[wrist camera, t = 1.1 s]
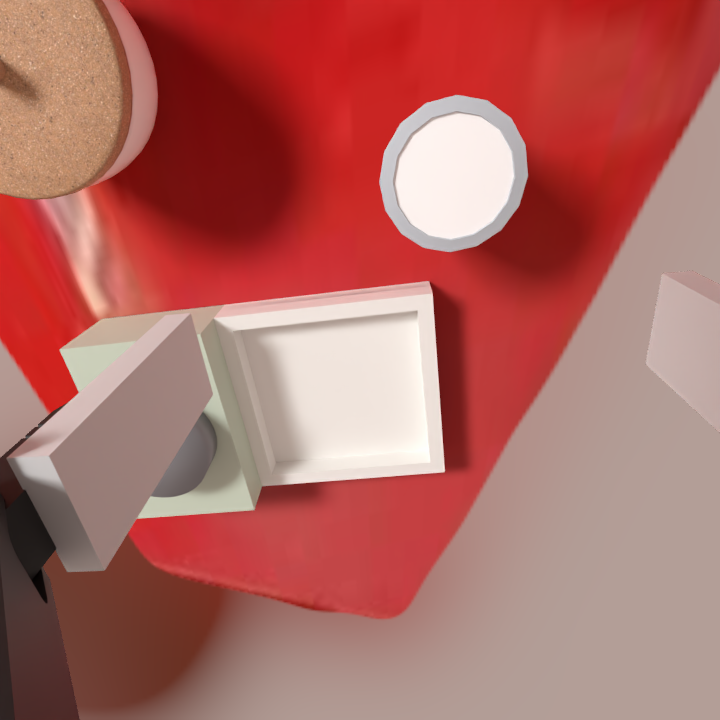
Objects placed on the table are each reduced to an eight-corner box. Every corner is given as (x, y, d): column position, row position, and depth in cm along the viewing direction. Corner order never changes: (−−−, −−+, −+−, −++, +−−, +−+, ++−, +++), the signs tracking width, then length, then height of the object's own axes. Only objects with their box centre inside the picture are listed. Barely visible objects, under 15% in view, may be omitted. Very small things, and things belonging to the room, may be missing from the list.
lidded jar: (102, 216, 31) (-3, 252, 22) (-43, 53, 27) (-236, 24, 18) (226, 107, 27) (158, 102, 19) (82, -93, 24) (-81, -209, 15)
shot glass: (381, 226, 30) (380, 255, 24) (378, 103, 27) (377, 98, 21) (491, 222, 30) (520, 250, 24) (501, 97, 27) (538, 90, 20)
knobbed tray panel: (102, 318, 34) (38, 364, 28) (429, 281, 32) (440, 321, 25) (164, 473, 40) (124, 539, 34) (441, 451, 38) (453, 517, 32)
